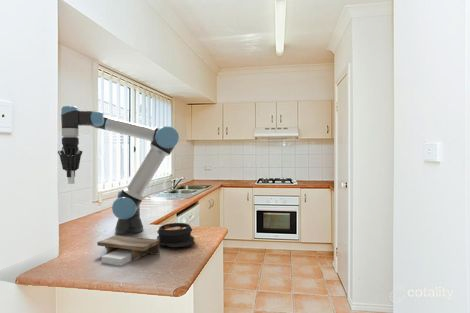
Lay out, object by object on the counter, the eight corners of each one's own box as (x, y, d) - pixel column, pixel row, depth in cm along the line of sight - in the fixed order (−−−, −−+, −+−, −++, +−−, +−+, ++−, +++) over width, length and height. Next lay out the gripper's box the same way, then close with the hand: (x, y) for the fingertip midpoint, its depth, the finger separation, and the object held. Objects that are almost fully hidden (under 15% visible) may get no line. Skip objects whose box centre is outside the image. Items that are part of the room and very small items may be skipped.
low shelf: (115, 248, 139) (115, 235, 139) (159, 253, 131) (159, 239, 131) (97, 255, 128) (97, 242, 128) (143, 261, 120) (143, 247, 120)
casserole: (148, 240, 151) (148, 223, 151) (182, 234, 161) (182, 219, 161) (165, 254, 130) (165, 235, 130) (203, 246, 140) (203, 228, 140)
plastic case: (125, 252, 134) (125, 246, 133) (143, 255, 130) (143, 248, 130) (101, 263, 120) (101, 256, 120) (121, 266, 117) (121, 259, 117)
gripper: (75, 137, 157) (76, 182, 157) (53, 136, 145) (54, 184, 145) (86, 137, 154) (87, 182, 155) (64, 136, 142) (65, 185, 142)
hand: (71, 183), depth 150 cm, fingers closed
